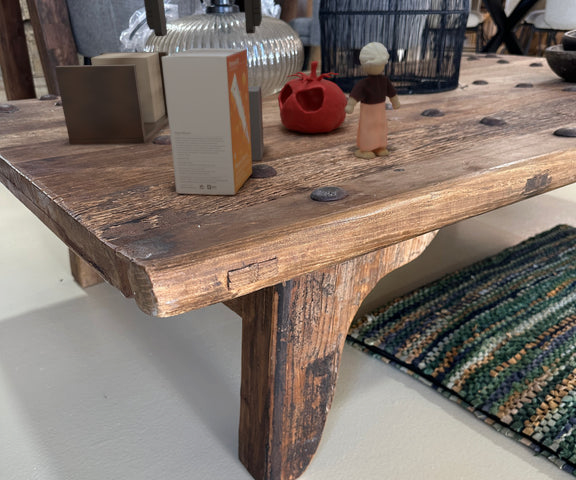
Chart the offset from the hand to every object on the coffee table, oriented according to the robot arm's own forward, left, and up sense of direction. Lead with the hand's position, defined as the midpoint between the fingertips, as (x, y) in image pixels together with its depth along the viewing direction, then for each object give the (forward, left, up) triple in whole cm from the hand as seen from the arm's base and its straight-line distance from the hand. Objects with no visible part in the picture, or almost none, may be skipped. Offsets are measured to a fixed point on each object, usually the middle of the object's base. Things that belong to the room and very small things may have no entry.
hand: (205, 34), depth 54 cm
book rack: (-17, +25, -15) cm, 34 cm away
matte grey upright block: (0, +11, -15) cm, 18 cm away
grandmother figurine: (+17, +11, -15) cm, 25 cm away
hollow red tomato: (+10, +26, -15) cm, 31 cm away
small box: (0, 0, -15) cm, 15 cm away
